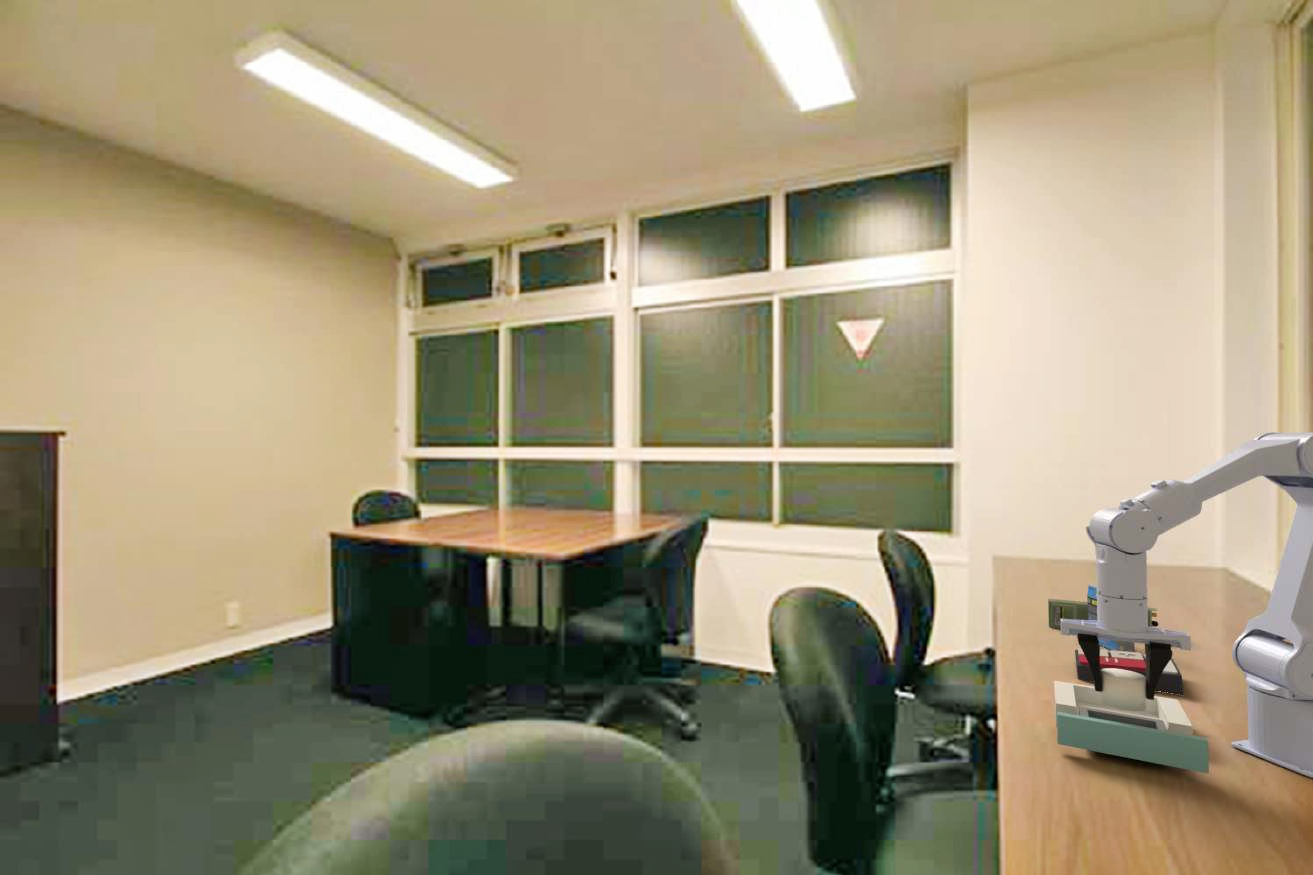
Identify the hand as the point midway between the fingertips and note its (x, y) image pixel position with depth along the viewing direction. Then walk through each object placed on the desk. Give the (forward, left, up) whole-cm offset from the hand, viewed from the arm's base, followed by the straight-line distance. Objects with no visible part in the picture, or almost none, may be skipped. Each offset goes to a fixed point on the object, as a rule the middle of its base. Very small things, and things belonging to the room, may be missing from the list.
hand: (1123, 693), depth 89 cm
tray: (0, 0, -7) cm, 7 cm away
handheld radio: (+45, -51, -8) cm, 68 cm away
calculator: (+22, -27, -8) cm, 36 cm away
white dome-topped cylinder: (0, 0, -2) cm, 2 cm away
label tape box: (+37, -41, -8) cm, 56 cm away
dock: (+6, -6, -8) cm, 12 cm away
